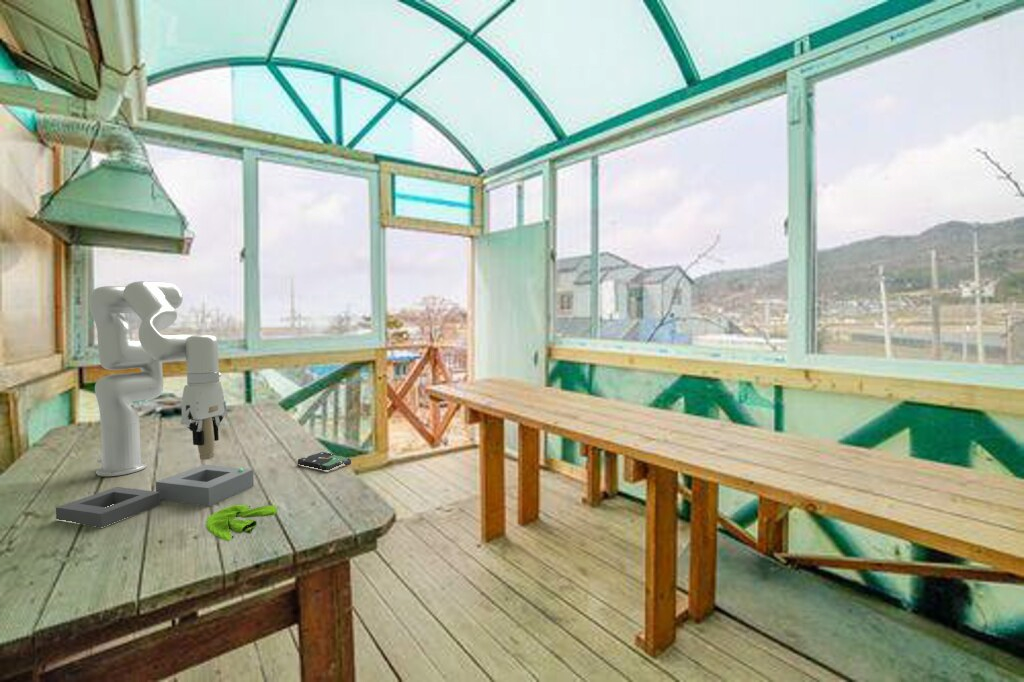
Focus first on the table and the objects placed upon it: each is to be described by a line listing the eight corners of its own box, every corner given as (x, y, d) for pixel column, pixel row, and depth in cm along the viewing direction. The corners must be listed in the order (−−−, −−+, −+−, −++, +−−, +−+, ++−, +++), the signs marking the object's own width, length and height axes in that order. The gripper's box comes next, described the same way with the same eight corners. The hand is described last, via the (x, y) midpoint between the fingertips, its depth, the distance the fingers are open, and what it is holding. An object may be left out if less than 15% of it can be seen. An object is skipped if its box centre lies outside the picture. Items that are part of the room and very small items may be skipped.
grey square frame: (56, 521, 112) (55, 507, 112) (117, 499, 126) (117, 486, 126) (102, 528, 109) (101, 514, 109) (160, 504, 122) (159, 492, 122)
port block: (156, 499, 126) (155, 478, 126) (204, 480, 140) (204, 462, 140) (209, 506, 122) (208, 485, 121) (253, 486, 136) (253, 467, 136)
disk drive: (296, 467, 155) (327, 474, 148) (296, 459, 155) (327, 465, 148) (322, 459, 164) (352, 465, 157) (322, 451, 164) (351, 457, 157)
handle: (222, 457, 131) (220, 405, 131) (197, 462, 126) (195, 409, 125) (215, 454, 134) (213, 403, 134) (190, 459, 129) (188, 407, 128)
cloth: (228, 505, 124) (228, 496, 124) (308, 507, 123) (307, 498, 123) (170, 542, 104) (169, 532, 103) (264, 545, 103) (264, 534, 103)
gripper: (218, 374, 138) (220, 434, 139) (164, 382, 122) (167, 450, 123) (238, 375, 136) (240, 435, 137) (186, 383, 120) (189, 451, 121)
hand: (206, 441), depth 130 cm, fingers closed on handle, 4 cm apart
